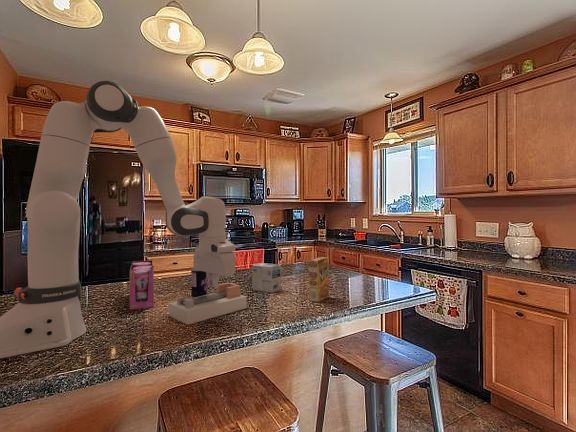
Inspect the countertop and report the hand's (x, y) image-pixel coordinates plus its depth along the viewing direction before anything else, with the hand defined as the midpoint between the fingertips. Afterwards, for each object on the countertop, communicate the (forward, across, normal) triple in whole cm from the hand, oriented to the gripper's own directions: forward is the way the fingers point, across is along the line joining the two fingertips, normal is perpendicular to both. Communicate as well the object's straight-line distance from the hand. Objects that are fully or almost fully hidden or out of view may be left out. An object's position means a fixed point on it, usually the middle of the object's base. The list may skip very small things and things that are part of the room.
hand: (213, 286), depth 109 cm
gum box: (+9, -30, -11) cm, 34 cm away
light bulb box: (+8, -8, +31) cm, 33 cm away
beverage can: (+8, -18, +5) cm, 20 cm away
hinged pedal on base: (+8, 0, -2) cm, 8 cm away
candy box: (+8, +17, +35) cm, 40 cm away
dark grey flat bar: (+4, 0, -3) cm, 5 cm away
